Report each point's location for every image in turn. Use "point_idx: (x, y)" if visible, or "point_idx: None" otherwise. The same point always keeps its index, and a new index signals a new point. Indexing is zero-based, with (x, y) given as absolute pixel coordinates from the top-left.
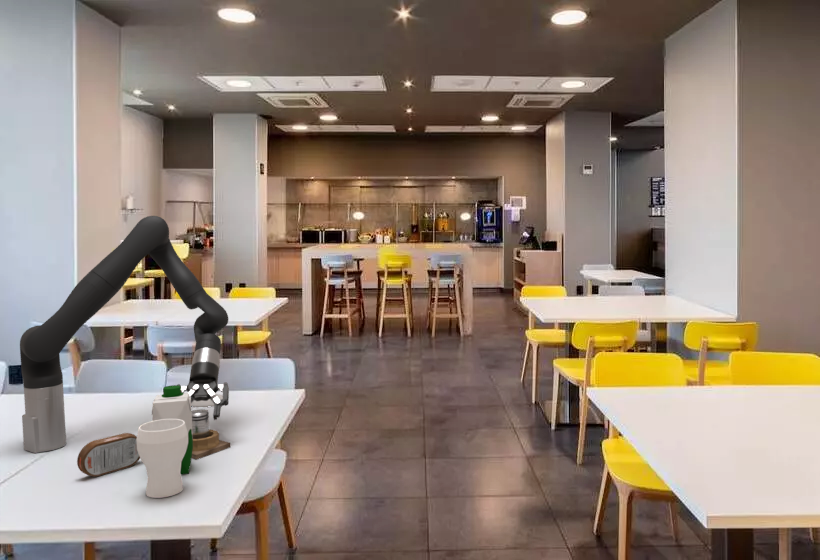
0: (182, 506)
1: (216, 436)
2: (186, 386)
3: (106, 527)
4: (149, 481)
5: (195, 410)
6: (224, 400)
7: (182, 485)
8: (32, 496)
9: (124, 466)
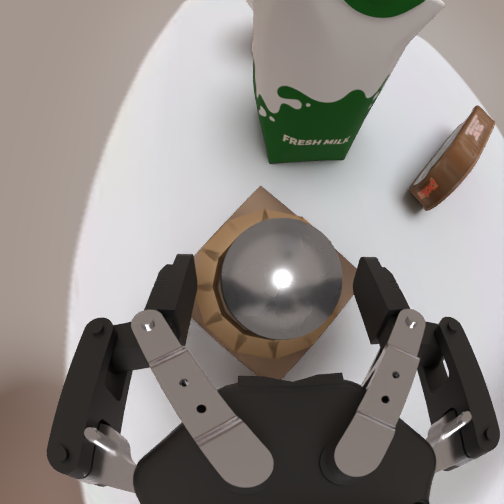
0: (239, 17)
1: (199, 262)
2: (434, 470)
3: None
4: None
5: (308, 315)
6: (103, 321)
7: (252, 43)
8: (470, 107)
9: (423, 171)
